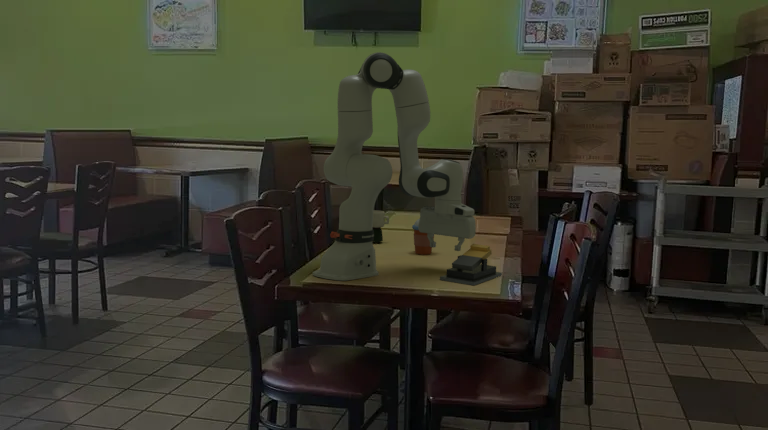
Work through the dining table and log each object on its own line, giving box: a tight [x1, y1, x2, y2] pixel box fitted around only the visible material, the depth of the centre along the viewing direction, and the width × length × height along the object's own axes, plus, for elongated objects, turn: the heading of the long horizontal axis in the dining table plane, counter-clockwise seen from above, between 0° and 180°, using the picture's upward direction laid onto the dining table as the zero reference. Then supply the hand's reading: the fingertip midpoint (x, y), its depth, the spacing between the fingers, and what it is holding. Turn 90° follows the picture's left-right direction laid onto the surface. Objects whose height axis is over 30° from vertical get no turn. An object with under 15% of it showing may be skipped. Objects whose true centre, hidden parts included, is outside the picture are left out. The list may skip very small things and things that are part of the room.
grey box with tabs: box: [439, 254, 503, 286], centre depth 226 cm, size 20×12×7 cm, turn 146°
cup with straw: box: [411, 218, 435, 256], centre depth 268 cm, size 9×9×18 cm
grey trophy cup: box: [372, 209, 390, 243], centre depth 290 cm, size 11×7×13 cm, turn 86°
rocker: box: [451, 243, 493, 271], centre depth 225 cm, size 14×7×3 cm, turn 146°
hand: (445, 248), depth 237 cm, fingers open, 8 cm apart
